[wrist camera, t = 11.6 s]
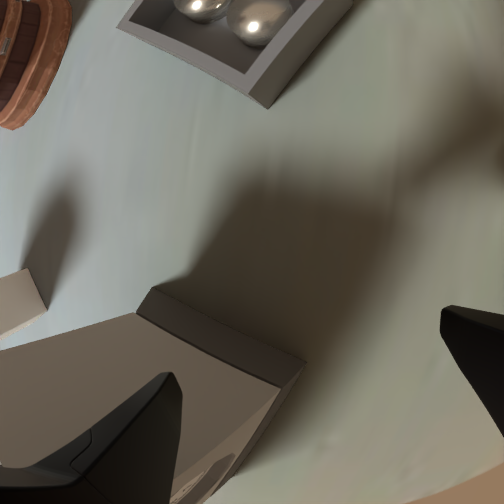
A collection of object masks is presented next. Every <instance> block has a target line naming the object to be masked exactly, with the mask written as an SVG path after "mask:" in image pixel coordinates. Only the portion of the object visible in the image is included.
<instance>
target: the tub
mask: <svg viewBox="0 0 504 504" xmlns="http://www.w3.org/2000/svg"><path fill="white" fill-rule="evenodd" d="M289 2H290V4H291V7H292V9H293V12H294V14H293V16H292V17H291V18H290V19H289V20H288V21H287V22H286V24H285V25H284V26H283V27H282V28H281V30H280V31H279V32H278V33H277V34H276V36H275V37H274V38H273V39H272V40H271V42H270V43H269V44H268V45H267V47H266V48H265V49H264V50H259V49H254V48H251V47H249V46H247V45H246V44H244V43H243V42H242V41H241V40H240V38H239V37H238V36H237V35H236V34H235V33H234V32H233V31H232V30H231V29H230V27H229V26H228V23H227V19H226V16H225V17H224V18H222V19H221V20H218V21H216V22H213V23H209V24H199V23H195V22H193V21H192V20H190V19H189V18H188V17H187V16H186V15H184V14H183V13H182V12H180V11H179V10H178V9H177V8H176V7H175V5H174V0H135V2H134V3H133V4H132V6H131V7H130V8H129V10H128V11H127V12H126V14H125V15H124V17H123V18H122V20H121V21H120V23H119V24H118V25H117V27H116V28H118V29H120V30H122V31H124V32H126V33H128V34H130V35H132V36H134V37H136V38H138V39H140V40H142V41H144V42H146V43H148V44H150V45H153V46H155V47H157V48H159V49H161V50H163V51H165V52H167V53H169V54H171V55H173V56H175V57H177V58H179V59H181V60H183V61H185V62H187V63H189V64H191V65H193V66H195V67H197V68H199V69H200V70H202V71H204V72H206V73H208V74H210V75H211V76H213V77H215V78H217V79H218V80H220V81H222V82H224V83H225V84H227V85H229V86H231V87H232V88H234V89H236V90H237V91H239V92H241V93H242V94H244V95H245V96H247V97H249V98H250V99H252V100H254V101H255V102H257V103H258V104H260V105H261V106H263V107H265V108H266V109H268V108H269V107H270V106H271V104H272V103H273V102H274V100H275V99H276V98H277V96H278V95H279V94H280V92H281V91H282V90H283V89H284V87H285V86H286V85H287V83H288V82H289V81H290V79H291V78H292V77H293V76H294V74H295V73H296V72H297V71H298V69H299V68H300V67H301V65H302V64H303V63H304V62H305V60H306V59H307V58H308V57H309V55H310V54H311V53H312V52H313V51H314V49H315V48H316V47H317V46H318V45H319V43H320V42H321V41H322V40H323V38H324V37H325V36H326V35H327V34H328V33H329V31H330V30H331V29H332V28H333V27H334V26H335V24H336V23H337V22H338V21H339V20H340V19H341V17H342V16H343V15H344V14H345V13H346V12H347V11H348V10H349V8H350V7H351V6H352V5H353V0H289Z"/></svg>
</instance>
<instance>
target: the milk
mask: <svg viewBox="0 0 504 504" xmlns="http://www.w3.org/2000/svg"><path fill="white" fill-rule="evenodd" d="M45 312H47V309H46V307H45V305H44V303H43V301H42V299H41V297H40V294H39V292H38V290H37V288H36V286H35V284H34V281H33V279H32V277H31V274H30V272H29V270H28V268H26V269H23V270H21V271H18V272H15V273H13V274H10V275H7V276H5V277H2V278H0V340H2V339H4V338H6V337H8V336H10V335H11V334H13V333H15V332H17V331H19V330H21V329H23V328H25V327H26V326H28V325H30V324H32V323H34V322H35V321H36V320H37V319H38V318H39V317H41V316H42V315H43V314H44V313H45Z"/></svg>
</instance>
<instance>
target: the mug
mask: <svg viewBox="0 0 504 504" xmlns="http://www.w3.org/2000/svg"><path fill="white" fill-rule="evenodd" d="M71 24H72V7H71V5H70V3H69V1H68V0H31V1H30V2H28V1H23V0H0V126H1V127H4V128H7V129H10V130H15V129H17V128H19V127H21V126H23V125H24V124H25V123H26V122H27V121H28V120H29V119H30V118H31V116H32V115H33V114H34V113H35V111H36V110H37V108H38V107H39V105H40V103H41V102H42V100H43V99H44V97H45V96H46V94H47V91H48V89H49V87H50V85H51V83H52V81H53V79H54V77H55V75H56V73H57V71H58V68H59V65H60V62H61V59H62V56H63V54H64V51H65V49H66V46H67V41H68V37H69V33H70V28H71Z"/></svg>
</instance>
